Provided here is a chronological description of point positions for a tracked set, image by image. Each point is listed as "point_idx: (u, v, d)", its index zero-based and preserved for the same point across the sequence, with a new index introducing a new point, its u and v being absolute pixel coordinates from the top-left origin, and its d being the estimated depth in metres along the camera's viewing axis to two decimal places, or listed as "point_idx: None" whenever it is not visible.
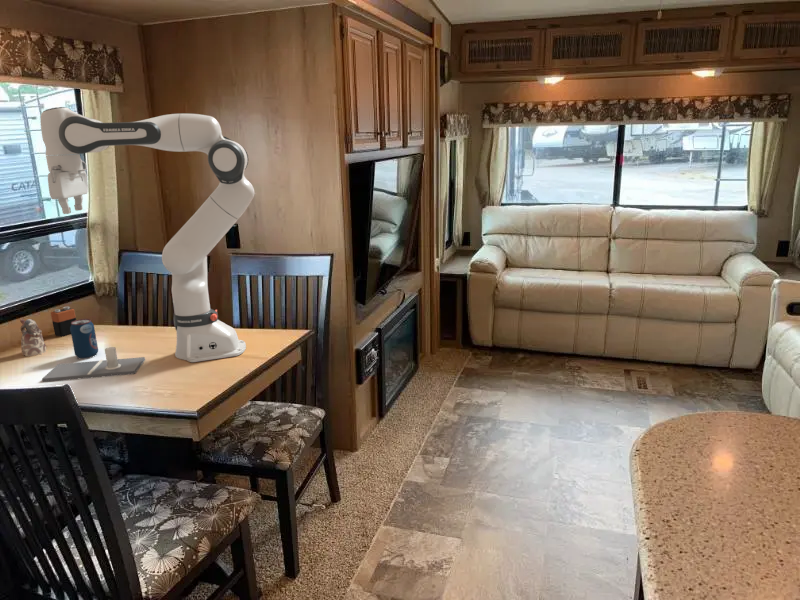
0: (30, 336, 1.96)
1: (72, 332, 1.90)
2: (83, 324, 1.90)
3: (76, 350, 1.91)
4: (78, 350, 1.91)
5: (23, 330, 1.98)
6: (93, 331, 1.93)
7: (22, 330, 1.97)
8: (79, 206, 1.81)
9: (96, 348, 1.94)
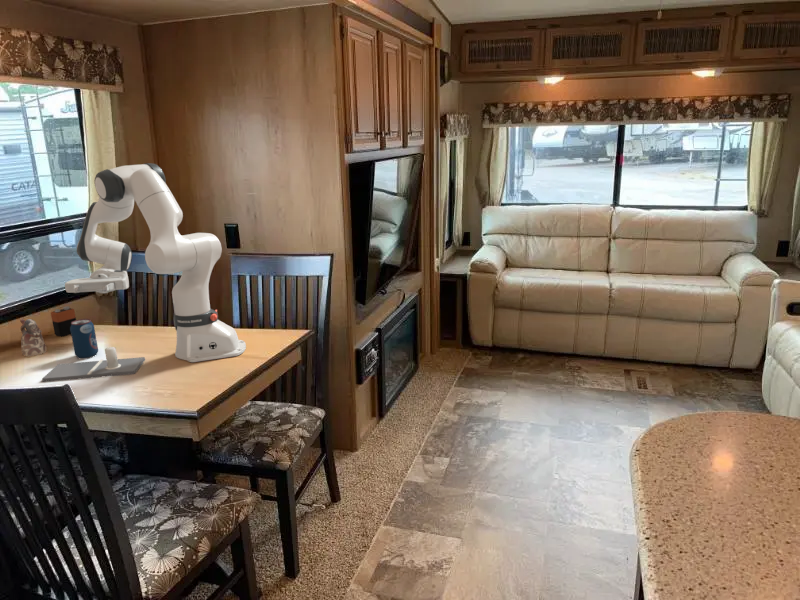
0: (30, 336, 1.96)
1: (72, 332, 1.90)
2: (83, 324, 1.90)
3: (76, 350, 1.91)
4: (78, 350, 1.91)
5: (23, 330, 1.98)
6: (93, 331, 1.93)
7: (22, 330, 1.97)
8: None
9: (96, 348, 1.94)
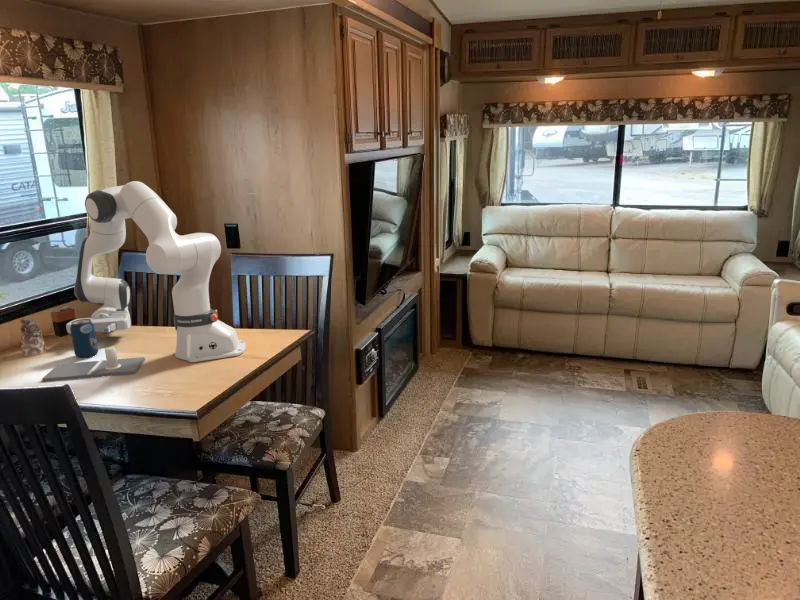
0: (30, 336, 1.96)
1: (72, 332, 1.90)
2: (83, 324, 1.90)
3: (76, 350, 1.91)
4: (78, 350, 1.91)
5: (23, 330, 1.98)
6: (93, 331, 1.93)
7: (22, 330, 1.97)
8: None
9: (96, 348, 1.94)
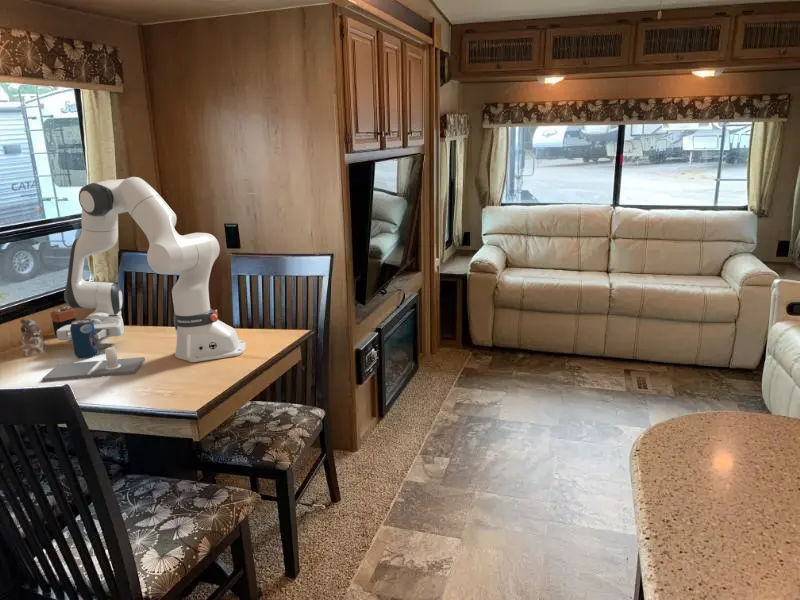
0: (30, 336, 1.96)
1: (72, 332, 1.90)
2: (83, 324, 1.90)
3: (76, 350, 1.91)
4: (78, 350, 1.91)
5: (23, 330, 1.98)
6: (93, 331, 1.93)
7: (22, 330, 1.97)
8: None
9: (96, 348, 1.94)
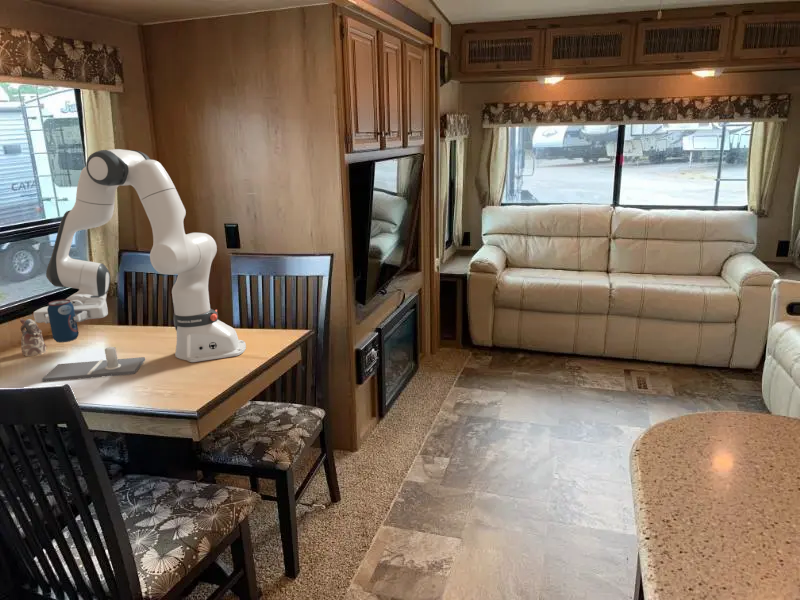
0: (30, 336, 1.96)
1: (49, 313, 1.74)
2: (61, 305, 1.75)
3: (54, 333, 1.76)
4: (56, 333, 1.76)
5: (23, 330, 1.98)
6: (73, 313, 1.78)
7: (22, 330, 1.97)
8: None
9: (76, 331, 1.79)
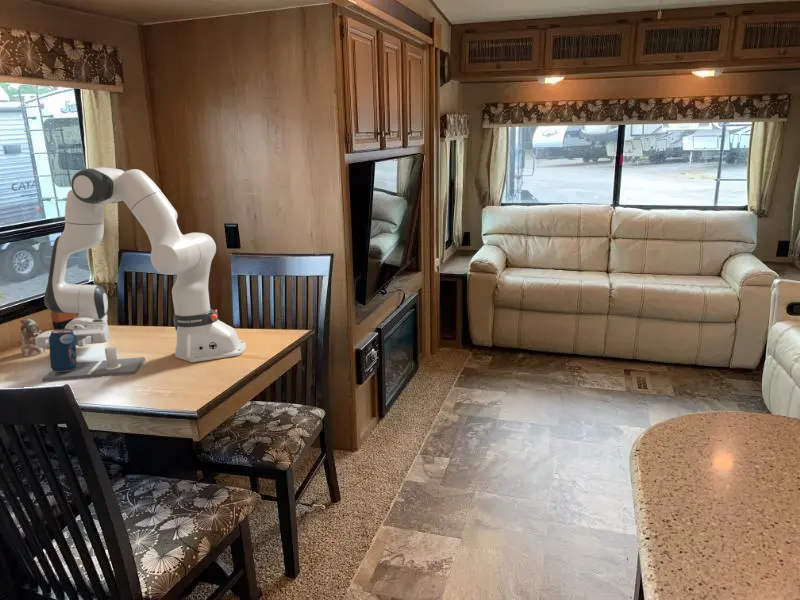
0: (30, 336, 1.96)
1: (51, 341, 1.75)
2: (64, 334, 1.75)
3: (52, 362, 1.76)
4: (55, 362, 1.75)
5: (23, 330, 1.98)
6: (74, 343, 1.78)
7: (22, 330, 1.97)
8: None
9: (74, 362, 1.79)
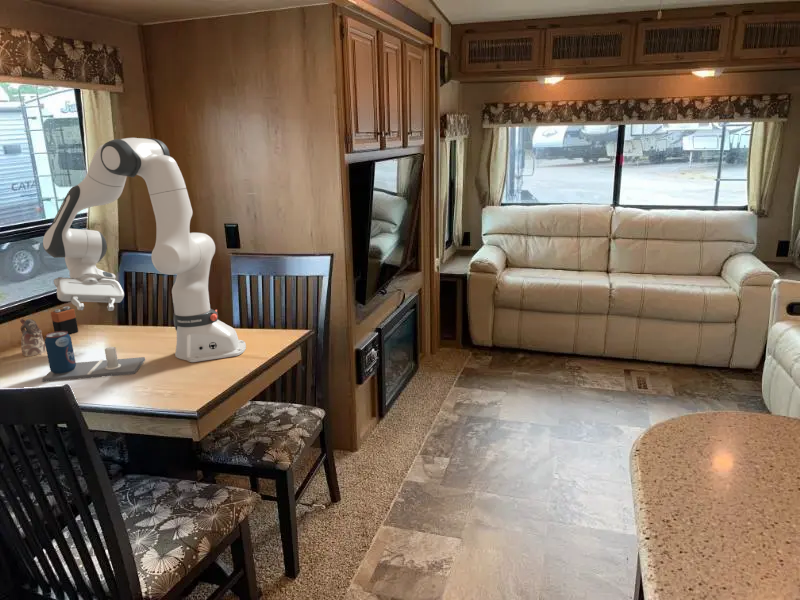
0: (30, 336, 1.96)
1: (47, 346, 1.74)
2: (59, 337, 1.74)
3: (51, 365, 1.75)
4: (53, 365, 1.75)
5: (23, 330, 1.98)
6: (70, 344, 1.77)
7: (22, 330, 1.97)
8: (108, 305, 1.96)
9: (73, 363, 1.79)
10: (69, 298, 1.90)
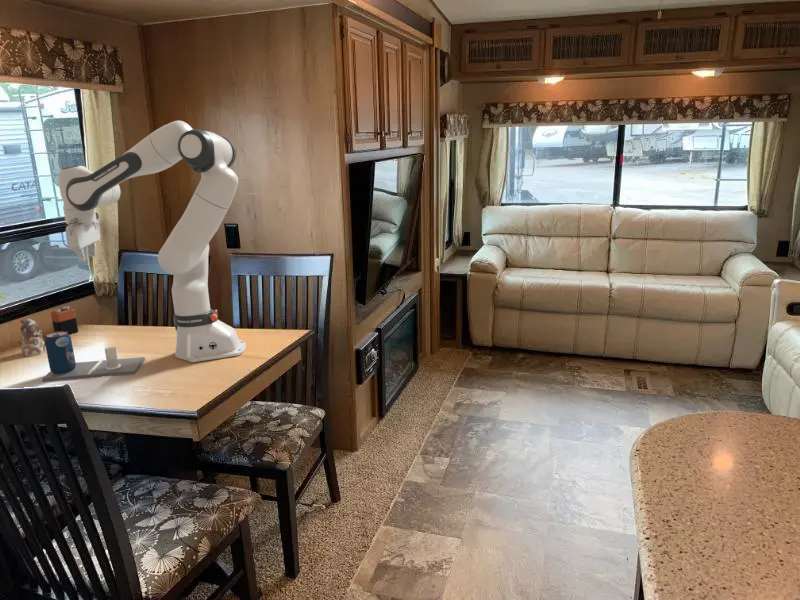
0: (30, 336, 1.96)
1: (47, 346, 1.74)
2: (59, 337, 1.74)
3: (51, 365, 1.75)
4: (53, 365, 1.75)
5: (23, 330, 1.98)
6: (70, 344, 1.77)
7: (22, 330, 1.97)
8: (93, 252, 1.98)
9: (73, 363, 1.79)
10: None
